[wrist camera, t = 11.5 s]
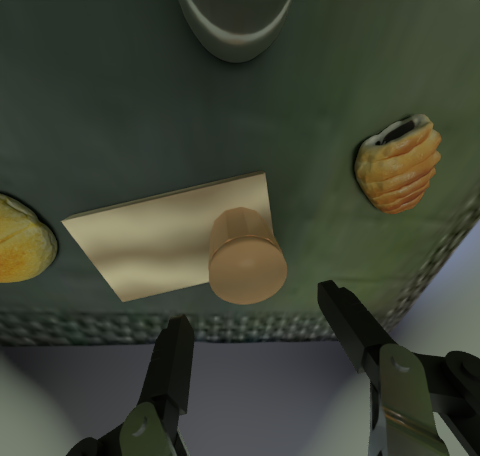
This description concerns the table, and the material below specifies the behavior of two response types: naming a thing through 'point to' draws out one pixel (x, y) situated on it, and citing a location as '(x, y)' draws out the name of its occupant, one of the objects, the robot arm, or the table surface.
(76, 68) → the table surface
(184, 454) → the robot arm
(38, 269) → the bread roll
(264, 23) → the plastic bottle
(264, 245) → the cap
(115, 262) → the board
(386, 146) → the pastry
